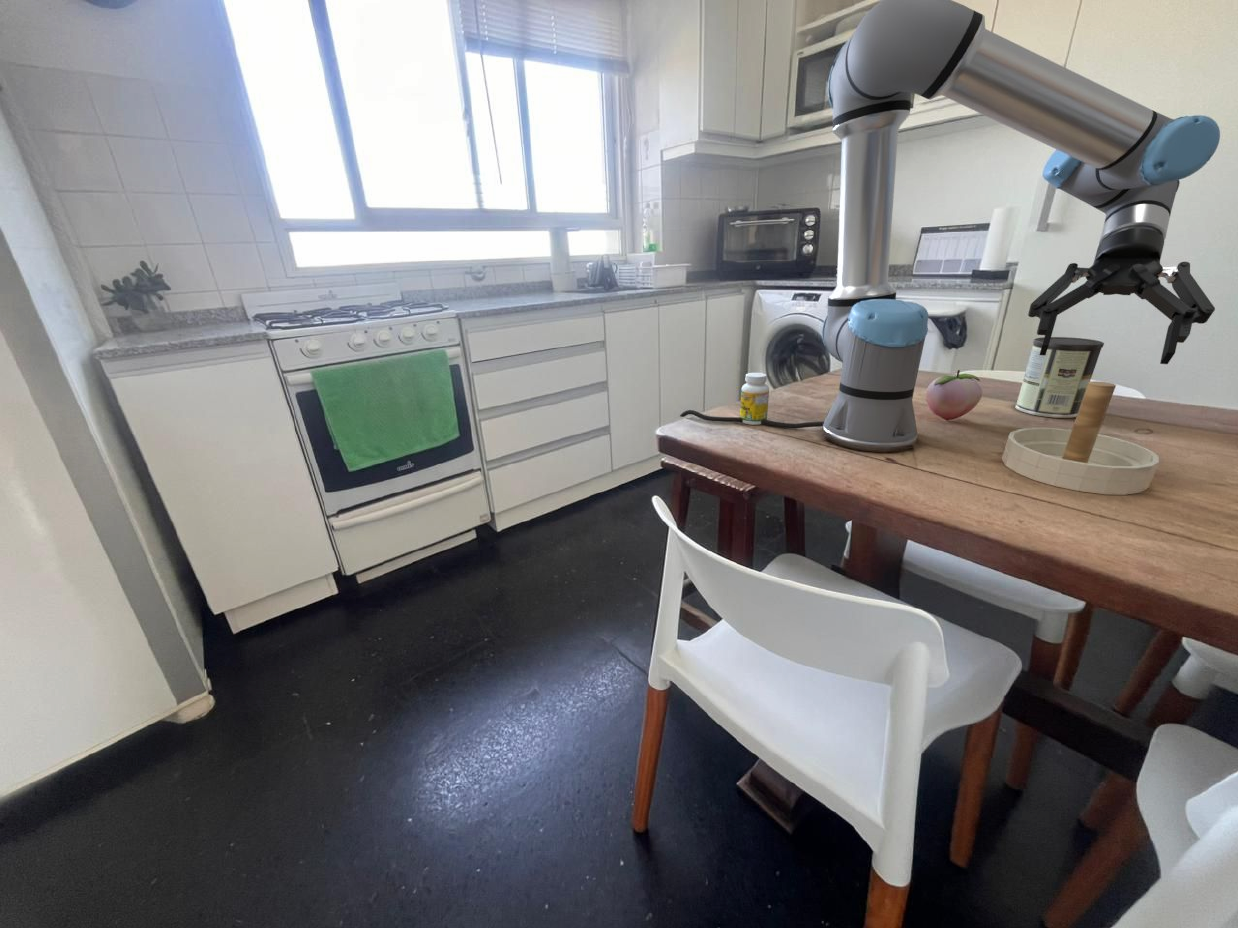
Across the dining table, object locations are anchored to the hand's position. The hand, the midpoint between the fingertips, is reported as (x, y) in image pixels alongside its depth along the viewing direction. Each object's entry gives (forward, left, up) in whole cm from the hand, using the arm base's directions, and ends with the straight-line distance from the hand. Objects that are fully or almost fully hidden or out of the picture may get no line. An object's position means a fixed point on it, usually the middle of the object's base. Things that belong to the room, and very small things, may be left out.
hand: (1102, 354), depth 74 cm
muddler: (-2, -10, -15) cm, 18 cm away
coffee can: (+3, +26, -16) cm, 31 cm away
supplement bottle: (-51, 0, -16) cm, 53 cm away
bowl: (-3, -10, -16) cm, 19 cm away
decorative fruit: (-16, +13, -16) cm, 26 cm away
